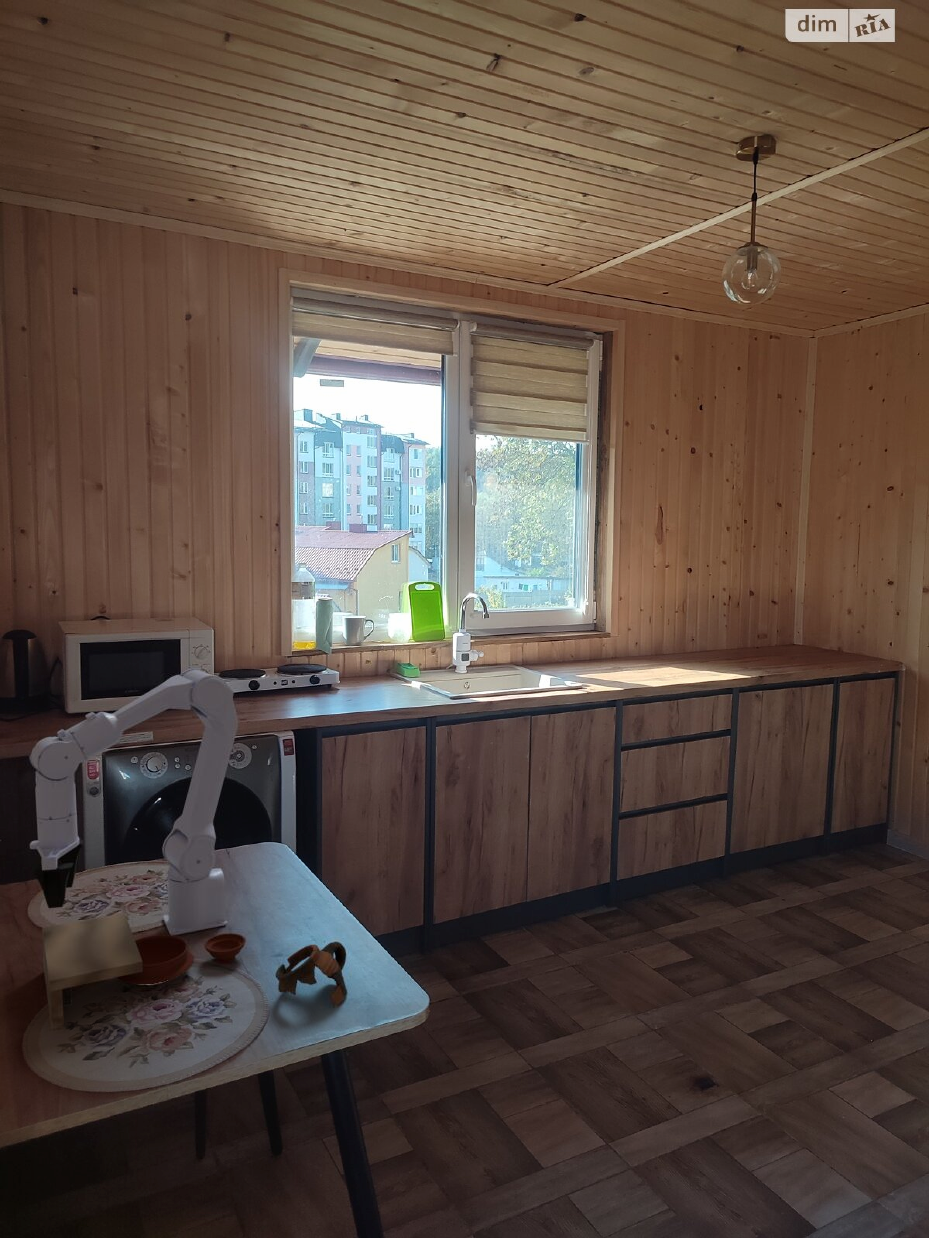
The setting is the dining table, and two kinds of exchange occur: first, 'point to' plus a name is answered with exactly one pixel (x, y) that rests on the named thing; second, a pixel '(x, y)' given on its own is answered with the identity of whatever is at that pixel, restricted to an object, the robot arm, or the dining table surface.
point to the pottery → (178, 956)
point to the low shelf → (86, 957)
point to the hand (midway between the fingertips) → (60, 896)
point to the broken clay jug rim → (307, 969)
